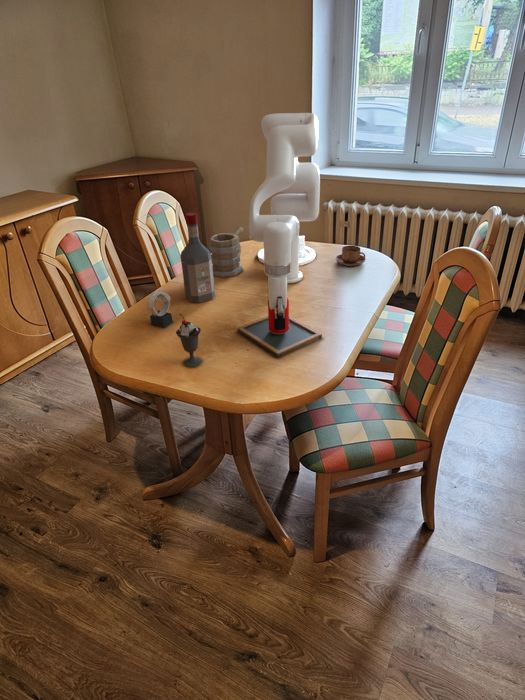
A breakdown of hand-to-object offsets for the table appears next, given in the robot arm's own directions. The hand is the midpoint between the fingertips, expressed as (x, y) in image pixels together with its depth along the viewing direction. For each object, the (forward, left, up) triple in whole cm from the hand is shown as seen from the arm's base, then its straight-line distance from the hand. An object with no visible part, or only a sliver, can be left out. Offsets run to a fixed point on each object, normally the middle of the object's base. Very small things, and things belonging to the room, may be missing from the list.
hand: (278, 322), depth 138 cm
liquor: (-40, +3, -5) cm, 40 cm away
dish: (-42, +54, -5) cm, 68 cm away
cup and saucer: (-16, +64, -5) cm, 66 cm away
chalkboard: (0, 0, -4) cm, 4 cm away
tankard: (-51, +30, -5) cm, 60 cm away
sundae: (-9, -27, -5) cm, 29 cm away
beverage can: (0, 0, -3) cm, 3 cm away
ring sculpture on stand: (-35, -18, -5) cm, 40 cm away
